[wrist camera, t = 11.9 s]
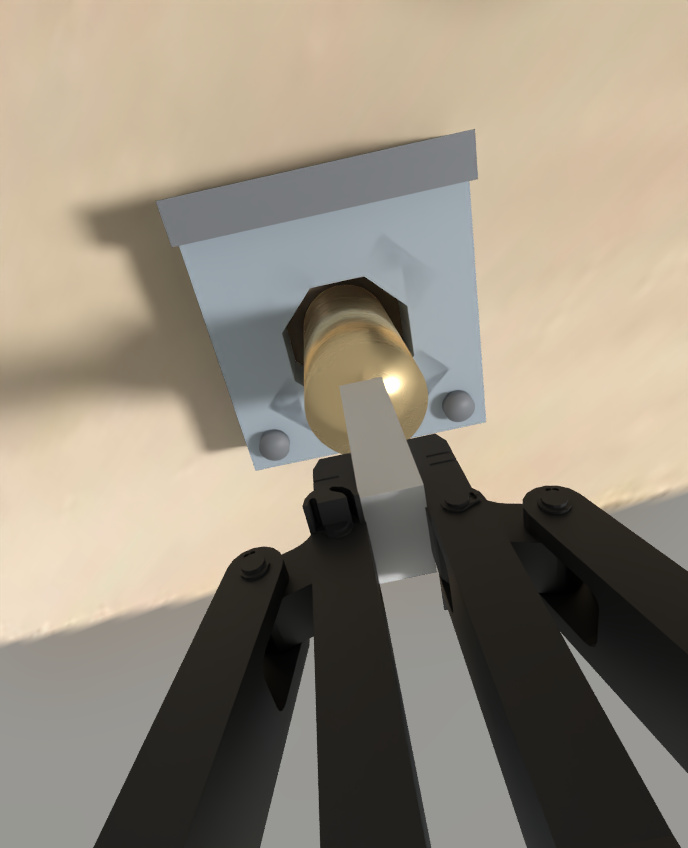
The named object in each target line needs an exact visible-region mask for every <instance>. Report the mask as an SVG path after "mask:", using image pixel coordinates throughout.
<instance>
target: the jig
mask: <svg viewBox="0 0 688 848" xmlns="http://www.w3.org/2000/svg"><path fill="white" fill-rule="evenodd" d="M476 179H478V172H477V156H476V140H475V129H473V130H468V131H464V132H459V133H455V134H450V135H446V136H442V137H437V138H433V139H428V140H424V141H420V142H415V143H411V144H406V145H402V146H397V147H393V148H389V149H384V150H380V151H375V152H371V153H366V154H362V155H358V156H353V157H349V158H344V159H340V160H336V161H331V162H327V163H322V164H318V165H313V166H309V167H305V168H300V169H296V170H291V171H287V172H282V173H278V174H274V175H269V176H265V177H260V178H256V179H252V180H247V181H243V182H238V183H234V184H229V185H225V186H221V187H216V188H212V189H207V190H203V191H198V192H194V193H190V194H185V195H181V196H176V197H172V198H168V199H163V200H159V201H156V204H157V207H158V210H159V212H160V215H161V218H162V221H163V224H164V227H165V230H166V233H167V235H168V238H169V241H170V244H171V247H176V246H179V248H180V251H181V253H182V256H183V259H184V262H185V265H186V268H187V271H188V274H189V277H190V280H191V283H192V286H193V289H194V292H195V294H196V297H197V300H198V303H199V306H200V309H201V312H202V315H203V318H204V321H205V324H206V327H207V330H208V333H209V336H210V338H211V341H212V344H213V347H214V350H215V353H216V356H217V359H218V362H219V365H220V368H221V371H222V374H223V377H224V380H225V382H226V385H227V388H228V391H229V394H230V397H231V400H232V403H233V406H234V409H235V412H236V415H237V418H238V421H239V423H240V426H241V429H242V432H243V435H244V438H245V441H246V444H247V447H248V450H249V453H250V456H251V459H252V462H253V465H254V467H255V470H256V471H257V470H262V469H266V468H271V467H276V466H281V465H285V464H290V463H295V462H300V461H304V460H309V459H314V458H319V457H323V456H328V455H333V454H337V453H338V452H336V451H333V450H332V449H330V448H328V447H327V446H326V445H324V444H323V443H322V442H321V441H320V440H319V439H318V438H317V437H316V436H315V434H314V433H313V432H312V430H311V428H310V426H309V424H308V422H307V419H306V415H305V408H304V366H303V365H302V364H300V363H298V362H297V361H295V357H294V353H293V349H292V346H291V342H290V338H289V334H288V330H287V324H288V323H289V321H290V319H291V318H292V316H293V315H294V313H295V311H296V310H297V308H298V307H299V305H300V303H301V302H302V300H303V299H304V297H305V295H306V294H307V292H308V290H309V289H310V288H313V287H317V286H322V285H326V284H331V283H336V282H340V281H345V280H349V279H354V278H358V277H363V276H364V277H366V278H367V279H369V280H370V281H372V282H373V283H375V284H376V285H377V286H379V287H380V288H382V289H383V290H385V291H386V292H388V293H389V294H391V295H392V296H394V297H395V298H396V299H398V304H399V310H400V317H401V324H402V331H403V339H402V340H403V342H404V343H405V345H406V347H407V349H408V350H409V352H410V354H411V355H412V357H413V359H414V360H415V362H416V364H417V366H418V367H419V369H420V371H421V373H422V374H423V376H424V379H425V381H426V385H427V389H428V406H427V411H426V414H425V417H424V420H423V422H422V423H421V425H420V427H419V428H418V430H417V431H416V433H415V434H414V435H413V436H412V437H411V438H413V437H418V436H423V435H428V434H432V433H437V432H442V431H447V430H451V429H456V428H461V427H465V426H470V425H475V424H480V423H484V422H486V414H485V399H484V385H483V371H482V356H481V342H480V327H479V313H478V299H477V284H476V270H475V256H474V241H473V227H472V212H471V198H470V184H469V181H471V180H476Z"/></svg>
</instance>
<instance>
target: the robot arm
mask: <svg viewBox="0 0 688 848" xmlns="http://www.w3.org/2000/svg"><path fill="white" fill-rule="evenodd" d="M339 388H340V394H341V399H342V405H343V411H344V416H345V422H346V428H347V433H348V439H349V445H350V450H351V453H347V454H343V455H338V456H333V457H328V458H324V459H319V461H318V463H317V464H316V466H315V468H314V469H313V482H314V483H313V485H314V491H313V492H311V493H310V494H309V495H308V496H307V497H306V498H305V500H304V503H303V510H304V513H305V516H306V520H307V523H308V526H309V530H310V533H311V536H310V537H309V538H308V539H307V540H306V541H305V542H304V543H303V544H301V545H300V546H298V547H296V548H295V549H293V550H291V551H289V552H286V553H284V554H282V555H281V554H280V552H279V551H277V550H276V549H274V548H271V547H258V548H252V549H250V550H248V551H246V552H244V553H242V554H240V555H239V556H238V557H237V558H235V559H234V560H233V561H232V563H231V564H230V565H229V567H228V568H227V570H226V572H225V574H224V576H223V579H222V581H221V583H220V585H219V587H218V589H217V591H216V593H215V595H214V597H213V599H212V601H211V604H210V606H209V608H208V610H207V612H206V614H205V616H204V618H203V620H202V622H201V624H200V626H199V629H198V631H197V633H196V635H195V637H194V639H193V641H192V643H191V645H190V647H189V649H188V651H187V654H186V656H185V658H184V660H183V662H182V664H181V666H180V668H179V670H178V672H177V674H176V677H175V679H174V681H173V683H172V685H171V687H170V689H169V691H168V693H167V695H166V697H165V700H164V702H163V704H162V706H161V708H160V710H159V712H158V714H157V716H156V718H155V720H154V722H153V724H152V726H151V729H150V731H149V733H148V735H147V737H146V739H145V741H144V743H143V745H142V747H141V749H140V751H139V754H138V756H137V758H136V760H135V762H134V764H133V766H132V768H131V771H130V773H129V774H128V777H127V779H126V781H125V783H124V785H123V787H122V789H121V791H120V793H119V795H118V797H117V799H116V802H115V804H114V806H113V808H112V810H111V812H110V814H109V816H108V818H107V820H106V822H105V825H104V827H103V829H102V831H101V833H100V835H99V837H98V839H97V841H96V843H95V845H94V847H93V848H260V845H261V841H262V837H263V833H264V829H265V825H266V820H267V816H268V812H269V808H270V804H271V799H272V796H273V792H274V787H275V783H276V779H277V775H278V771H279V767H280V763H281V759H282V754H283V751H284V747H285V743H286V739H287V735H288V730H289V726H290V722H291V718H292V714H293V710H294V706H295V702H296V697H297V693H298V689H299V685H300V681H301V677H302V673H303V669H304V665H305V661H306V657H307V653H308V648H309V641H310V640H309V639H310V638H311V637H313V636H314V654H315V655H314V657H315V689H316V722H317V754H318V786H319V787H318V788H319V821H320V848H431V844H430V839H429V833H428V829H427V823H426V818H425V813H424V808H423V803H422V797H421V792H420V788H419V782H418V777H417V772H416V767H415V761H414V756H413V751H412V746H411V741H410V736H409V731H408V726H407V720H406V715H405V710H404V705H403V700H402V694H401V690H400V684H399V680H398V674H397V669H396V664H395V659H394V653H393V648H392V643H391V638H390V633H389V628H388V623H387V617H386V612H385V607H384V602H383V597H382V593H381V588H380V584H381V583H386V582H391V581H396V580H401V579H406V578H411V577H416V576H420V575H425V574H430V573H434V572H437V571H436V565H437V568H438V572H439V577H440V584H441V591H442V598H443V604H444V610H448V611H449V614H450V616H451V619H452V623H453V626H454V629H455V632H456V635H457V638H458V640H459V644H460V646H461V650H462V653H463V656H464V659H465V662H466V665H467V668H468V671H469V674H470V677H471V680H472V683H473V686H474V689H475V692H476V695H477V698H478V701H479V704H480V707H481V710H482V713H483V716H484V719H485V722H486V726H487V728H488V731H489V734H490V738H491V741H492V744H493V747H494V749H495V753H496V756H497V759H498V762H499V765H500V768H501V771H502V774H503V777H504V780H505V783H506V786H507V789H508V792H509V795H510V798H511V801H512V804H513V807H514V810H515V813H516V816H517V819H518V822H519V825H520V828H521V831H522V834H523V837H524V840H525V843H526V846H527V848H681V847H680V845H679V844H678V842H677V841H676V839H675V837H674V836H673V834H672V832H671V830H670V829H669V827H668V825H667V823H666V821H665V820H664V818H663V816H662V814H661V812H660V811H659V809H658V807H657V805H656V803H655V802H654V800H653V798H652V796H651V794H650V793H649V791H648V789H647V787H646V785H645V784H644V782H643V780H642V778H641V776H640V775H639V773H638V771H637V769H636V767H635V766H634V764H633V762H632V761H631V759H630V757H629V755H628V753H627V751H626V750H625V748H624V746H623V744H622V742H621V741H620V739H619V737H618V735H617V734H616V732H615V730H614V728H613V726H612V724H611V723H610V721H609V719H608V717H607V715H606V714H605V712H604V710H603V708H602V707H601V705H600V703H599V701H598V699H597V697H596V696H595V694H594V692H593V690H592V689H591V687H590V685H589V683H588V681H587V680H586V678H585V676H584V674H583V673H582V671H581V669H580V667H579V665H578V663H577V662H576V660H575V658H574V656H573V654H572V653H571V651H570V649H569V648H568V646H567V644H566V642H565V640H564V638H563V636H562V635H561V633H562V634H563V635H564V636H565V637H566V638H567V640H568V641H569V642H570V643H571V644H572V645H573V646H574V647H575V648H576V650H577V651H578V652H579V653H580V654H581V655H582V656H583V657H584V659H585V660H586V661H587V662H588V663H589V664H590V665H591V666H592V667H593V669H594V670H595V671H596V672H597V673H598V674H599V675H600V676H601V677H602V679H603V680H604V681H605V682H606V683H607V684H608V685H609V686H610V687H611V689H612V690H613V691H614V692H615V693H616V694H617V695H618V696H619V697H620V699H621V700H622V701H623V702H624V703H625V704H626V705H627V706H628V707H629V708H630V710H631V711H632V712H633V713H634V714H635V715H636V716H637V717H638V718H639V720H640V721H641V722H642V723H643V724H644V725H645V726H646V727H647V728H648V730H649V731H650V732H651V733H652V734H653V735H654V736H655V737H656V738H657V740H658V741H659V742H660V743H661V744H662V745H663V746H664V747H665V748H666V750H667V751H668V752H669V753H670V754H671V755H672V756H673V757H674V758H675V760H676V761H677V762H678V763H679V764H680V765H681V766H682V767H683V768H684V769H685V771H686V772H687V773H688V571H686V570H685V569H684V568H682V567H681V566H679V565H678V564H677V563H675V562H674V561H673V560H671V559H670V558H668V557H667V556H666V555H664V554H663V553H661V552H660V551H659V550H657V549H655V548H654V547H653V546H652V545H650V544H649V543H647V542H646V541H645V540H643V539H642V538H641V537H639V536H638V535H636V534H635V533H634V532H632V531H631V530H629V529H628V528H627V527H625V526H624V525H623V524H621V523H620V522H618V521H617V520H616V519H614V518H613V517H611V516H610V515H609V514H607V513H606V512H604V511H603V510H602V509H600V508H599V507H598V506H596V505H595V504H593V503H592V502H591V501H589V500H588V499H586V498H585V497H584V496H582V495H581V494H579V493H577V492H576V491H574V490H572V489H570V488H565V487H561V486H543V487H538V488H535V489H533V490H531V491H530V492H528V493H527V494H526V495H525V497H524V498H523V504H505V503H496V502H492V501H488V500H486V498H485V497H484V496H483V495H482V494H481V493H480V492H479V491H477V490H475V489H473V488H472V487H471V486H470V484H469V482H468V480H467V478H466V476H465V474H464V472H463V471H462V469H461V467H460V465H459V463H458V461H456V458H455V456H454V454H453V452H452V450H451V448H450V446H449V445H448V443H447V441H446V440H444V439H443V438H441V437H440V436H438V435H436V434H431V435H426V436H422V437H417V438H412V439H408V440H406V438H405V436H404V433H403V430H402V428H401V425H400V423H399V420H398V418H397V415H396V413H395V410H394V407H393V405H392V402H391V400H390V397H389V395H388V392H387V389H386V387H385V384H384V382H383V379H382V377H378V378H373V379H369V380H364V381H359V382H355V383H350V384H346V385H341V386H339ZM435 563H436V564H435ZM560 632H561V633H560Z"/></svg>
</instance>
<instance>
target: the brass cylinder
mask: <svg viewBox="0 0 688 848" xmlns="http://www.w3.org/2000/svg"><path fill="white" fill-rule="evenodd" d="M378 377H382V379H383V382H384V384H385V387H386V389H387V392H388V395H389V397H390V400H391V402H392V405H393V407H394V410H395V413H396V415H397V418H398V420H399V423H400V425H401V428H402V430H403V433H404V436H405V438H406V440H408V439H410V438H411V437H412V436H413V435H414V434H415V433H416V431H417V430H418V428H419V427H420V425H421V423H422V422H423V420H424V417H425V414H426V411H427V406H428V389H427V385H426V381H425V379H424V376H423V374H422V373H421V371H420V369H419V367H418V366H417V364H416V362H415V360H414V359H413V357H412V355H411V354H410V352H409V350H408V349H407V347H406V345H405V343H404V342H403V340H402V338H401V337H400V335H399V333H398V331H397V330H396V328H395V326H394V325H393V323H392V321H391V320H390V318H389V316H388V314H387V313H386V311H385V309H384V308H383V306H382V304H381V303H380V301H379V300H378V299H377V298H376V297H375V296H374V295H373V294H372V293H371V292H369V291H368V290H366V289H364V288H362V287H359V286H355V285H337V286H334V287H331V288H328V289H326V290H325V291H323V292H321V293H320V294H319V295H318V296H317V297H316V298H315V299H314V300H313V301H312V302H311V304H310V305H309V307H308V309H307V312H306V314H305V319H304V408H305V415H306V419H307V422H308V424H309V426H310V428H311V430H312V432H313V433H314V434H315V436H316V437H317V438H318V439H319V440H320V441H321V442H322V443H323V444H324V445H326V446H327V447H328V448H330V449H332V450H333V451H336V452H338V453H340V454H347V453H351V450H350V445H349V439H348V433H347V428H346V422H345V416H344V411H343V405H342V399H341V394H340V388H339V386H341V385H346V384H350V383H355V382H359V381H364V380H369V379H373V378H378Z"/></svg>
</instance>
